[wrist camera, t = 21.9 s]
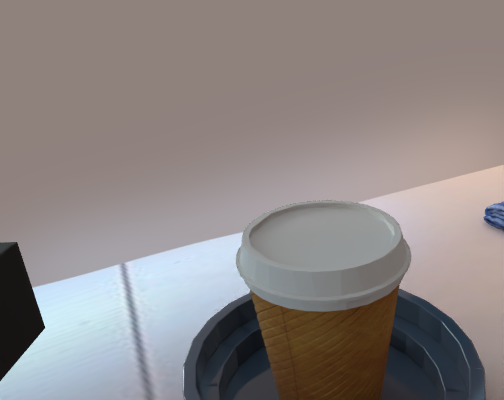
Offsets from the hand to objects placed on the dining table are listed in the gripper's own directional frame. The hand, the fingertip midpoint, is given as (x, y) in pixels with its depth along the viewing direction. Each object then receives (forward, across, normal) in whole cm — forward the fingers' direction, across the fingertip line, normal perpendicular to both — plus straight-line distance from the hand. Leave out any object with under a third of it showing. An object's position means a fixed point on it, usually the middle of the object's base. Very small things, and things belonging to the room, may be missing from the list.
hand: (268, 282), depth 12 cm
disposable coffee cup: (+13, +1, -18) cm, 22 cm away
